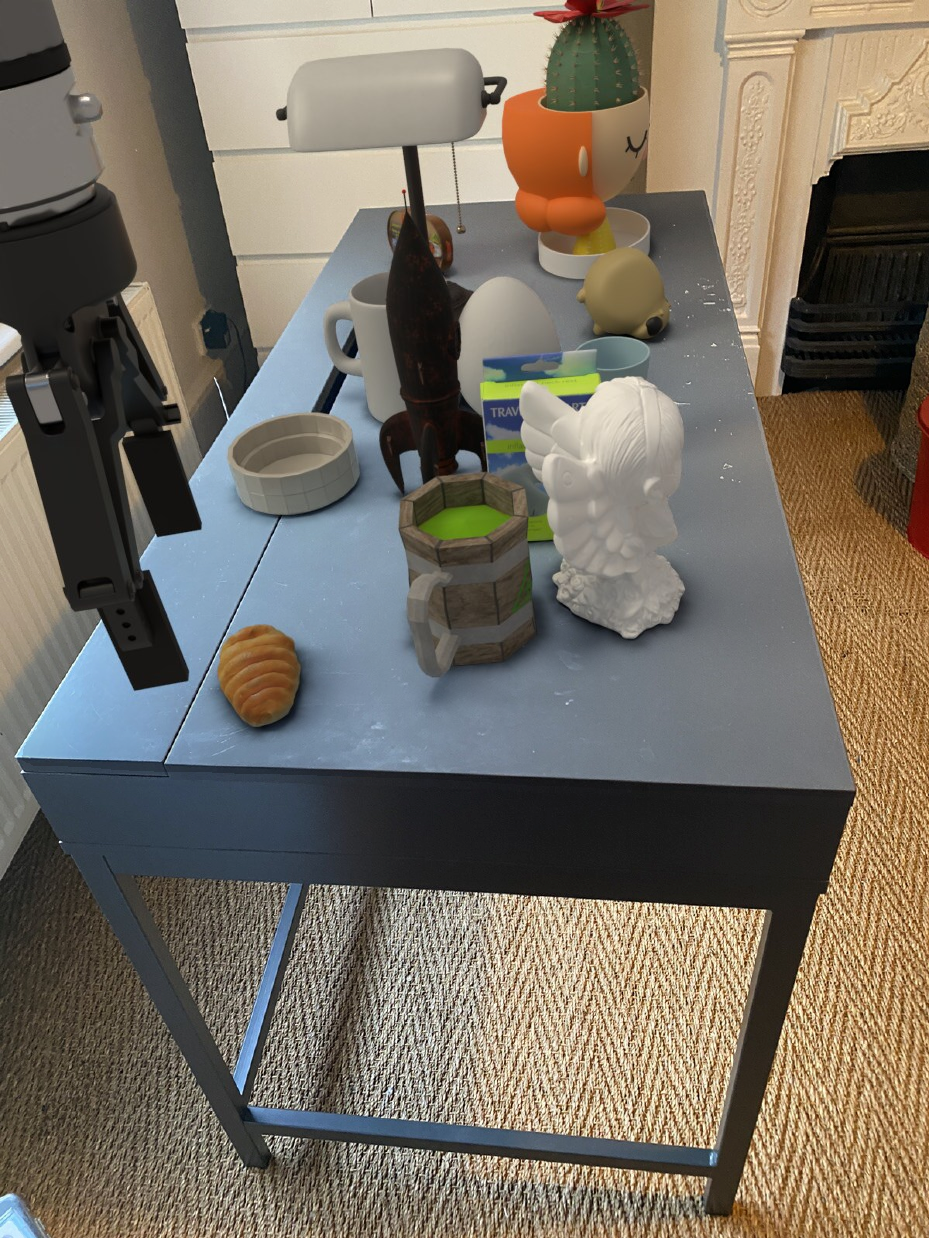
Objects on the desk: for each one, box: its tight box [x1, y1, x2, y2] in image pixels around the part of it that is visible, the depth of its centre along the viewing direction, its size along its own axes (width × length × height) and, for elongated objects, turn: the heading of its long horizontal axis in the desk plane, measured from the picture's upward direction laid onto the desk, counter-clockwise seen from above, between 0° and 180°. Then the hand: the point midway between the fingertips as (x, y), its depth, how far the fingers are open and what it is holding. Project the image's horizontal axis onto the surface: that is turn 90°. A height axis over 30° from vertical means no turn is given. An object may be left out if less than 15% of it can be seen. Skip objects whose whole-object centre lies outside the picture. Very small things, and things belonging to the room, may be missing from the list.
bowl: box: [226, 412, 361, 516], centre depth 99 cm, size 13×13×5 cm
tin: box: [386, 207, 454, 273], centre depth 144 cm, size 15×3×8 cm, turn 37°
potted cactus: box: [501, 0, 652, 280], centre depth 133 cm, size 22×22×35 cm
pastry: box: [216, 623, 302, 728], centre depth 75 cm, size 9×7×4 cm
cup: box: [574, 336, 651, 383], centre depth 97 cm, size 8×8×10 cm
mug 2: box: [398, 471, 537, 678], centre depth 75 cm, size 16×11×12 cm
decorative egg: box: [457, 276, 562, 417], centre depth 105 cm, size 12×12×15 cm
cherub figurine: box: [519, 376, 686, 640], centre depth 74 cm, size 13×12×20 cm
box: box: [480, 349, 601, 542], centre depth 84 cm, size 10×4×17 cm, turn 88°
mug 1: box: [323, 269, 461, 424], centre depth 108 cm, size 16×11×14 cm
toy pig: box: [575, 247, 672, 340], centre depth 119 cm, size 10×12×11 cm
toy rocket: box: [378, 188, 488, 497], centre depth 86 cm, size 9×9×30 cm
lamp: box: [275, 47, 508, 321], centre depth 118 cm, size 26×24×34 cm
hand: (171, 598), depth 52 cm, fingers open, 13 cm apart
